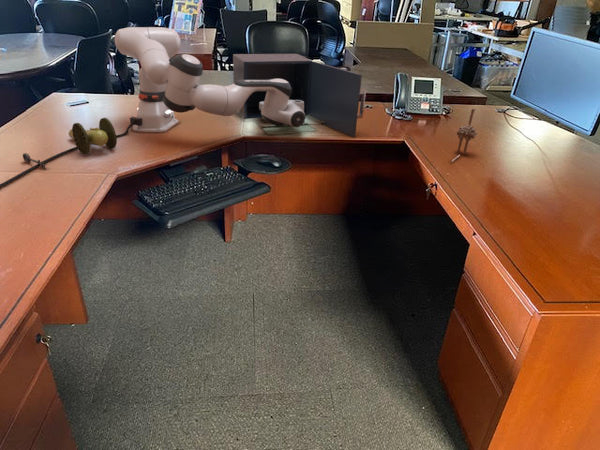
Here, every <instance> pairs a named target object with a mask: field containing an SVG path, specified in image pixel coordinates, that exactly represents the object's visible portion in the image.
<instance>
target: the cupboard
mask: <svg viewBox="0 0 600 450" xmlns="http://www.w3.org/2000/svg"><path fill="white" fill-rule="evenodd" d="M312 62H313V60H311V59H309V58H308V57H305V56H303V55H301V54H298V53H233V54H232V67H233V68H232V70H233V71H232V73H233V84H234V83H235V82H236V81H237V80H243V79H284V80H286V81H288V82H289V83H290V85H291V88H292V93H291V95H290V97H289V100H301V101H303V102H304V113H305V116H309V106H310V89H311V72H312ZM266 93H267V91H255V92H253V93H252V94H251V95H250V96H249V97H248V99H247V100H246V101H245V103H244V105H243V107H242V108H241V110H240V111H239V112H238V114H239V115H240V116H241V117H242V119H244V120H250V119H263V117H262V116H261V110H260V109H259V102H261V101H264V100H265V97H266Z"/></svg>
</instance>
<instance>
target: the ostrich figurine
mask: <svg viewBox="0 0 600 450" xmlns="http://www.w3.org/2000/svg"><path fill="white" fill-rule="evenodd" d="M470 111H471V112H470V115H469V120H468V124H465V125H464V126H460V127H459V128H458V130H457V132H456V136H457V138H458V139H459V142H458V146H457V151H456V154H458V155H457V156H455V157H454V158H453V159H452V160H451V163H453V162H454V161H456V160H457V159H458V158H459V157H460V153H461V149H462V144H463V140H465V144H464V147H463V152H462V155H463V156H466V155H467V150H468V145H469V142H470V141H471V140H472V139H473V140H474V139H475V137H476V136H477V135H478V132H477V130H476V129H475V127H474V125H472V121H473V117H474V114H475V111H476V108H474V107H473V108H471V110H470Z"/></svg>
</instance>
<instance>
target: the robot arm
mask: <svg viewBox="0 0 600 450" xmlns="http://www.w3.org/2000/svg"><path fill="white" fill-rule="evenodd" d="M114 44H115V45H114V46H115V47H116V49H117V51H118V52H119V53H120V54H121V55H123V56H127V57H131V58H133V59H135V60H137V62H139V64H140V68H139V70H138V73H137V74H138V75H137V76H138V81H139V93H138V99H139V101H138V106H137V111H136V116H131V117H129V122H130V124H129V125H128V126H127V127H126V130H125V131H124V132H123V133H120V134H116V137H117V138H121V137H124V136H126V135H127V134H128V133H129V132H130V129H131V128H132V131H133V132H139V133H164V132H168V131H169V130H170V129H172V127H174V126H176V125H177V124H179V123H180V121H179V119H177V118H176V115H175V113H179V114H180V113H187V112H189V111H194V110H195V109H197V110H198V111H201V112H204V113H207V114H210V115H215V116H221V117H231V116H232V117H233V116H235V115H236V114H237V113H239V111H240V110H241V108H242V107H243V105H244V103H245V101H246V100H247V99H248V97H249V96H250V95H251V94H252V93H253V92H255V91H267V93H266V97H265V100H264V101H261V102H259V109H260V110H261V116H262V117H263V118H262V119H263V120H264V121H265V122H266V123H268V124H270V125H271V126H282V125H290V126H292V127H300V126H301V125H302V124H305V121H306V115H305V113H304V102H303V101H301V100H289V97H290V95H291V93H292V88H291V85H290V83H289V82H288V81H286V80H284V79H243V80H237V81H236V82H235V83H234V82H233V83H231V84H229V85H219V84H210V83H209V84H207V83H206V84H205V83H204V84H200V81H201V76H202V75H203V71H204V69H203V68H204V65H203V63H202V61H201V60H200V59H198V58H197V57H196V56H193V55H192V54H188V53H180V54H178V53H179V51H180V49H181V46H182V41H181V37H180V35H179V34H178V32H177V31H176V30H175V29H173V28H169V27H164V26H163V27H162V26H161V27H160V26H157V27H156V26H146V27H145V26H143V27H142V26H141V27H140V26H129V27H124V28H120V29H118V30H116V32H115V34H114ZM91 145H92V144H90V146H91ZM76 150H78V148H77V146H74V147H72V148H68V149H67V150H64V151H62V152H59V153H57V154H55V155H53V156H50V157H48V158H46V159H45V160H42V161H43V163H44V164H45V165H46V164H47V163H48V162H51V161H53V160H56V159H57V158H59V157H61V156H64V155H66V154H69V153H71V152H74V151H76ZM42 161H40V162H41V163H42ZM39 167H41V165H40V164H38V163H36V164H35V165H33V166H31V167H29V168H28V169H25V170H24V171H22V172H20V173H18V174H17V175H14V176H13V177H11V178H9V179H8V180H5V181H4V182H2V183H0V189H1V188H3V187H5V186H7V185H9V184H11V183H12V182H14V181H16V180H18V179H20V178H22V177H23V176H25V175H27V174H29V173H30V172H32V171H34V170H36V169H37V168H38V169H39Z"/></svg>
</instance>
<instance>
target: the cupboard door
mask: <svg viewBox="0 0 600 450" xmlns="http://www.w3.org/2000/svg"><path fill="white" fill-rule="evenodd" d="M336 67H337V66H332V65H328V64H325V63H321V62H319V61H318V62H317V61H313V60H312V72H311V89H310V106H309V115H308V117H310V118H313V119H315V120H317V121H319V122H321V124H322V125H325V126H327V127H329V128H332V129H334V130H336V131H338V132H341V133H343V134H345V135H347V136H350V137H352V138H355V137H356V132H357V123H358V119H363V117H364V108H365V101H366V93H367V90H366V89H365V88H363V89H361V87H362V79H363V74H361V73H357V72H353V71H347V70H343V69H340V68H336ZM359 105H360V106H359Z"/></svg>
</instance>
